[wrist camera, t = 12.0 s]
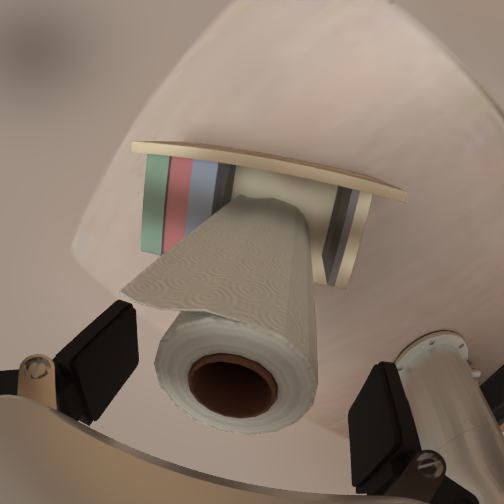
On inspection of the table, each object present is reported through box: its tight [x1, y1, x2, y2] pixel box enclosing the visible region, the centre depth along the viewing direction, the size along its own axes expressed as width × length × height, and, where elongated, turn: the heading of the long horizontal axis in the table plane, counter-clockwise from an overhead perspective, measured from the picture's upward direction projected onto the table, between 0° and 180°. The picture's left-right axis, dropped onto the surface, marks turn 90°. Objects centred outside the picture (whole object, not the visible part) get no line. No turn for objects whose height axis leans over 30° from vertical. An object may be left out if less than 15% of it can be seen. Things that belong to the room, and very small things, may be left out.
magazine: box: [479, 366, 504, 427], centre depth 30 cm, size 17×3×30 cm
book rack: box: [131, 141, 408, 289], centre depth 26 cm, size 12×20×10 cm, turn 81°
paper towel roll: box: [119, 194, 318, 435], centre depth 19 cm, size 7×6×21 cm
